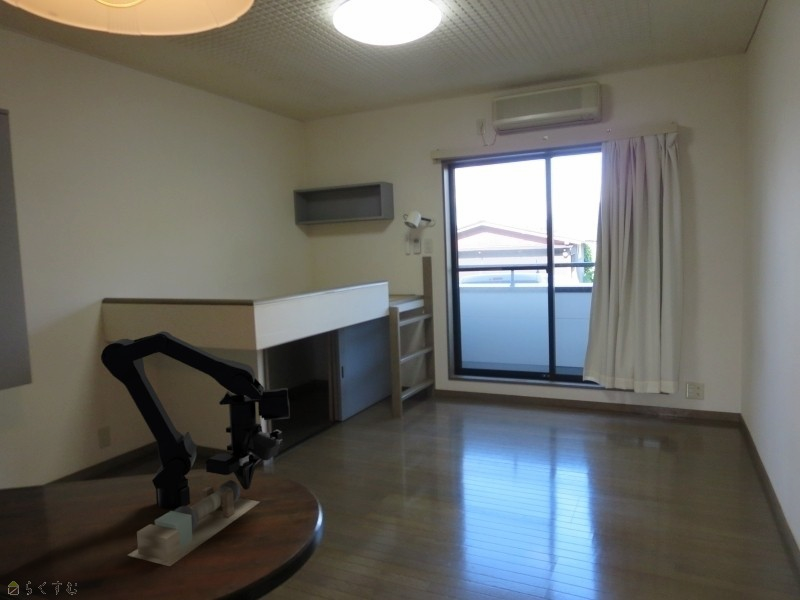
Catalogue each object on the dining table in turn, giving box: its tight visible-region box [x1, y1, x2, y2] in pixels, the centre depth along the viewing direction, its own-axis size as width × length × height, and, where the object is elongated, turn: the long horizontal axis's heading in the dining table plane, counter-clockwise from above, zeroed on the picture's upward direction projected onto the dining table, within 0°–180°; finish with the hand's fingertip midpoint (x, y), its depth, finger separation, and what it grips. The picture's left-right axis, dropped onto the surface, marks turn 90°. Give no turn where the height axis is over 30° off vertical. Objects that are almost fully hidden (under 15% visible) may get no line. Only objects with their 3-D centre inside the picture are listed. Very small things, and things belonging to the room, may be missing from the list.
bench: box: [127, 486, 261, 567], centre depth 108 cm, size 10×26×6 cm, turn 158°
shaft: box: [173, 479, 241, 531], centre depth 110 cm, size 5×15×5 cm, turn 158°
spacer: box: [154, 510, 193, 548], centre depth 102 cm, size 5×4×5 cm
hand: (246, 488), depth 122 cm, fingers closed
